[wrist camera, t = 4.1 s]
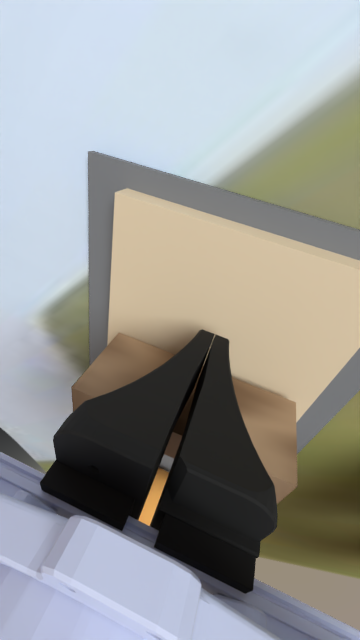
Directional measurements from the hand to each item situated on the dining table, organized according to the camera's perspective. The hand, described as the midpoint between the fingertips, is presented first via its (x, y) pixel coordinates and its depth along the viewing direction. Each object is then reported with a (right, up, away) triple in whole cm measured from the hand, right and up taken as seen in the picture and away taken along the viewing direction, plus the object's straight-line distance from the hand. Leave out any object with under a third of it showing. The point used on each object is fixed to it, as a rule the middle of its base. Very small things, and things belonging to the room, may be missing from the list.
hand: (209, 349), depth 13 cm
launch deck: (-1, -7, +9) cm, 11 cm away
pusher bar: (0, -2, +2) cm, 3 cm away
